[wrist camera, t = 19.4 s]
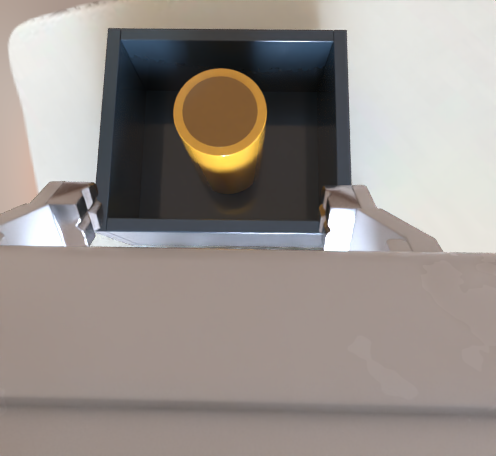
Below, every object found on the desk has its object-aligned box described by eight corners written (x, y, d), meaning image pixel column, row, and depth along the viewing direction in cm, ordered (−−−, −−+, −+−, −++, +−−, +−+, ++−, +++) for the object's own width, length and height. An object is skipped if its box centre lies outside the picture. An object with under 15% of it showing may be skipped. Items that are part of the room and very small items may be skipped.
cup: (262, 129, 28) (267, 68, 20) (262, 194, 27) (266, 156, 19) (196, 129, 28) (175, 67, 20) (193, 193, 27) (170, 155, 20)
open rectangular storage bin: (324, 89, 30) (346, 29, 23) (327, 247, 28) (353, 234, 21) (140, 87, 30) (107, 27, 23) (130, 245, 28) (91, 231, 21)
